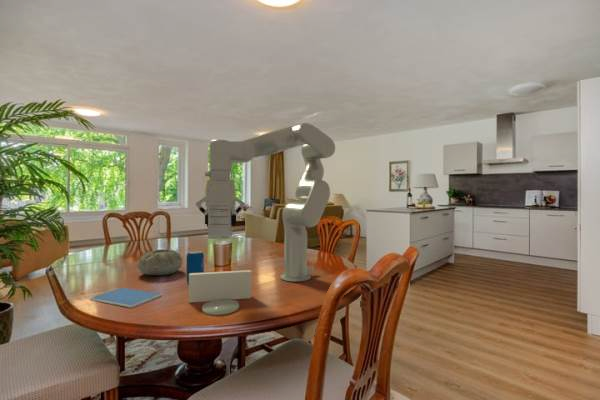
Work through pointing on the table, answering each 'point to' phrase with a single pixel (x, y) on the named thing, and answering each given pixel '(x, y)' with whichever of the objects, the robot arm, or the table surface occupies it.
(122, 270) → the table surface
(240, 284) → the painted screen
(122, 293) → the blue flat slab
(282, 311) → the table surface
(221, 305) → the round plate
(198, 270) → the beverage can
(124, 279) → the table surface
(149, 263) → the grey rounded lump
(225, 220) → the supplement box
